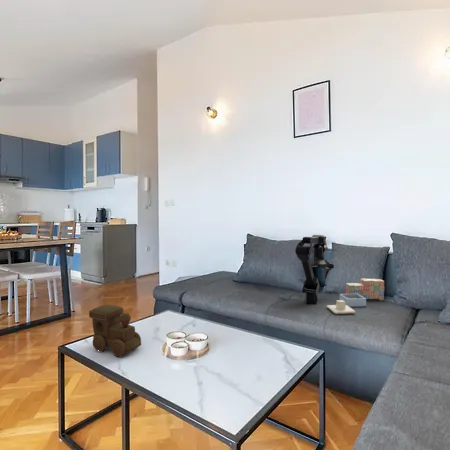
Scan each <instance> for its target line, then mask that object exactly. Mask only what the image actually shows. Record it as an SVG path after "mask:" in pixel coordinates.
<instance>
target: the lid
mask: <svg viewBox="0 0 450 450" xmlns="http://www.w3.org/2000/svg"><path fill="white" fill-rule="evenodd" d="M335 301H336V303H335V304H327V305H326V307H327V308H328V309H329V310H330V311H331V312H332V313H334V314H336V315H340V314H341V315H342V314H343V315H345V314H355V313H356V310H354V309H353V308H352V307H349V306H347V305H345V301H343V300H340V299H339V300H338V299H337V300H335Z"/></svg>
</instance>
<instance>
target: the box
mask: <svg viewBox="0 0 450 450" xmlns="http://www.w3.org/2000/svg"><path fill="white" fill-rule="evenodd" d="M348 298H356V299H348ZM339 300H343V301H345V305H347V306H349V307H350V308H352V307H367V299H366V298H364V297H362V296H361V295H359V294H346V293H339Z"/></svg>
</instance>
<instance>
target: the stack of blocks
mask: <svg viewBox="0 0 450 450" xmlns="http://www.w3.org/2000/svg"><path fill="white" fill-rule="evenodd" d="M345 294H359V295H361V296H362V297H364V298H366V300H379V301H385V280H383V279H381V278H360V282H359V283H358V282H357V283H356V282H346V283H345Z"/></svg>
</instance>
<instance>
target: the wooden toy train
mask: <svg viewBox="0 0 450 450" xmlns="http://www.w3.org/2000/svg"><path fill="white" fill-rule="evenodd" d="M88 314H89V315H88V318H91V319H92V330H93V336H92V337H93V340H92V346H93V348H94V349H95V350H96V351H97V350H99V351H102V352H104V351H105V350H106V348H108V349H111V352H112V354H113V355H114V356H115V355H116V356H115V357H117V356H122V357H124V355H125V354H126V353H130V352H132V351H134V350H135V349H138V348H139V347H141V346H142V337H141V335H140V334H139V333H138V332H136V328H135V327H136V326H134V325H131V324H129V323H130V322H131V320H132V316H131V315H130V314H129V313H128V312H124V307H122V306H119V305H114V304H104V305H100V306H97V307H94V308H92V309H91V310H89V311H88Z"/></svg>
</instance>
